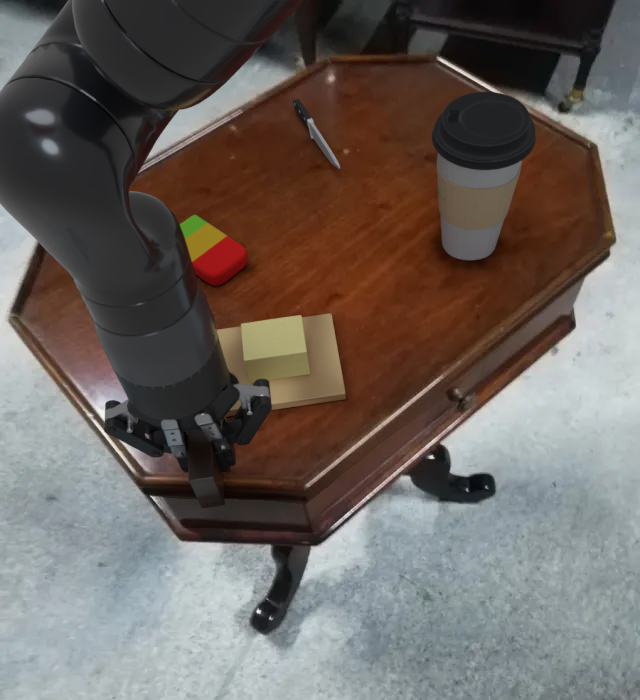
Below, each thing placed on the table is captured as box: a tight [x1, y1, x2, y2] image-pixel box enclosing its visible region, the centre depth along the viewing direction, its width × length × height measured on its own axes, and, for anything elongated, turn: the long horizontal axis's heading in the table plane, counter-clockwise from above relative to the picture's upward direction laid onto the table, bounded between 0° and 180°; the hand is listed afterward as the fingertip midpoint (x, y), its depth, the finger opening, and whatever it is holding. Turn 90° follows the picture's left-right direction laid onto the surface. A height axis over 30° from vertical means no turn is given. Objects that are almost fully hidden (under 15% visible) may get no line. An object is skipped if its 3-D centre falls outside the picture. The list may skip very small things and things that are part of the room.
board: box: [216, 312, 347, 418], centre depth 72 cm, size 18×10×1 cm, turn 97°
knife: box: [292, 98, 341, 170], centre depth 90 cm, size 15×1×2 cm, turn 22°
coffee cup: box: [431, 91, 537, 261], centre depth 73 cm, size 9×9×15 cm
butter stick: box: [240, 314, 310, 383], centre depth 70 cm, size 6×4×4 cm
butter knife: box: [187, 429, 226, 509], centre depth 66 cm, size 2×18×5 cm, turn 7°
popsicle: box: [179, 214, 249, 287], centre depth 82 cm, size 6×15×2 cm, turn 46°
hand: (211, 465), depth 65 cm, fingers closed on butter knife, 2 cm apart
